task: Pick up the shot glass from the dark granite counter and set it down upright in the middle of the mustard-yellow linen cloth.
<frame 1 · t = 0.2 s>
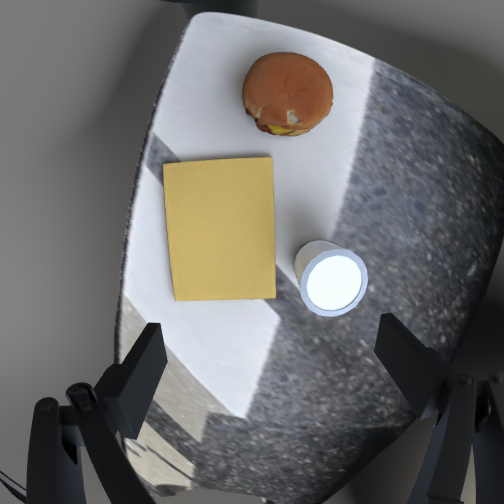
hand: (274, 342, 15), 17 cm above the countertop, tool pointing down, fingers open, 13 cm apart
shot glass: (317, 263, 32), on the countertop
burger: (286, 99, 28), on the countertop
cloth: (220, 231, 31), on the countertop
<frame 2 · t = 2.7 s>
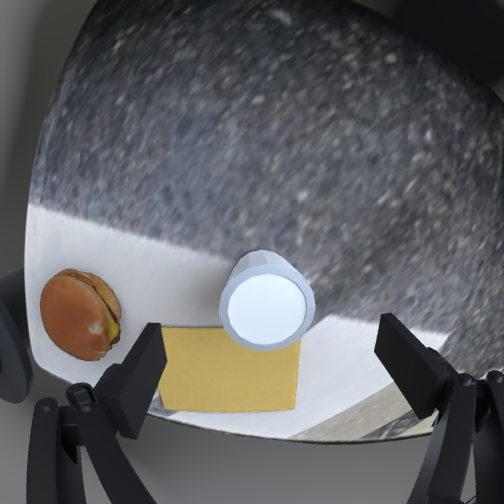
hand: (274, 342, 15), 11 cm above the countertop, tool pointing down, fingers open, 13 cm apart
shot glass: (261, 278, 26), on the countertop
burger: (88, 307, 27), on the countertop
cloth: (224, 374, 29), on the countertop
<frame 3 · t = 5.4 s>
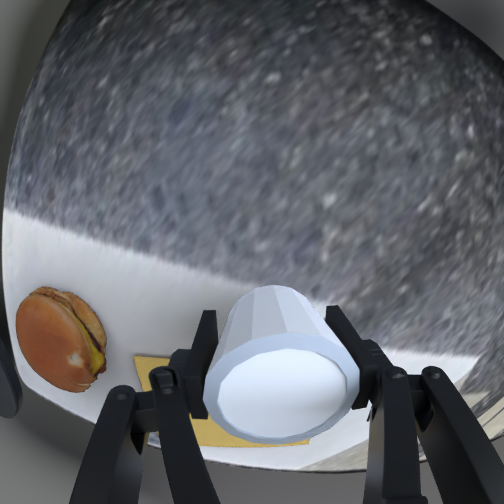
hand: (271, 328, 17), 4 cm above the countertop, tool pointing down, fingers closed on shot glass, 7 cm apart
shot glass: (271, 324, 18), point 3 cm above the countertop, touching gripper
burger: (70, 329, 22), on the countertop
cloth: (229, 409, 23), on the countertop
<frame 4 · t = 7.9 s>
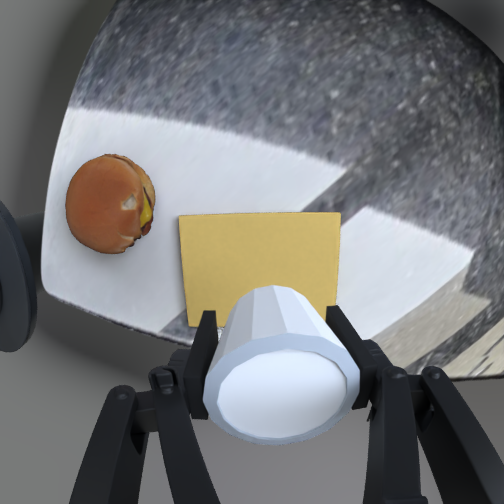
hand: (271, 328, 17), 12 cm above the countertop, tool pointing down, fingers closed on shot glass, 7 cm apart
shot glass: (271, 325, 18), point 11 cm above the countertop, touching gripper
burger: (117, 201, 27), on the countertop
cloth: (261, 272, 29), on the countertop
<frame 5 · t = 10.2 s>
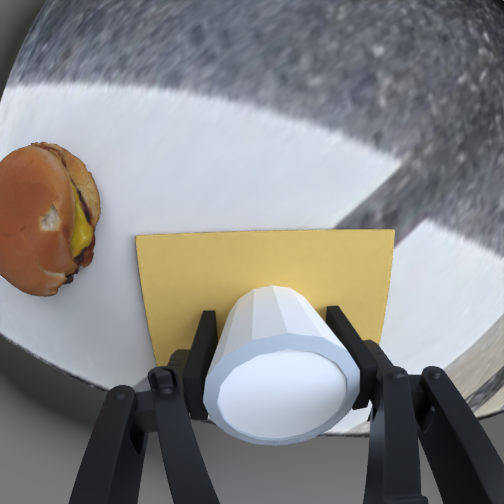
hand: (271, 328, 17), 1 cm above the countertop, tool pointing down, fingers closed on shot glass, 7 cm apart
shot glass: (271, 325, 18), resting on cloth, touching gripper
burger: (53, 213, 16), on the countertop
cloth: (269, 323, 18), on the countertop
when the fingers open (1 cm above the countertop, at t = 10.5 s): shot glass stays where it is, resting on cloth.
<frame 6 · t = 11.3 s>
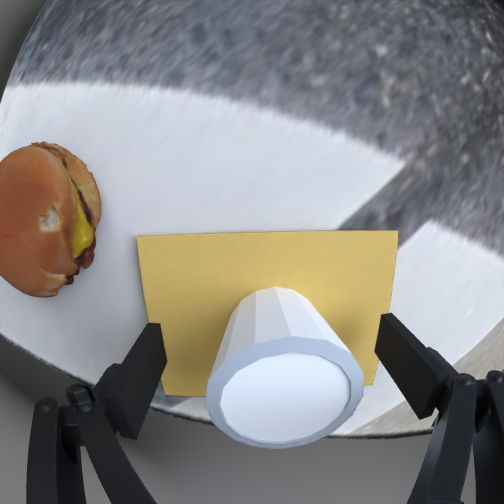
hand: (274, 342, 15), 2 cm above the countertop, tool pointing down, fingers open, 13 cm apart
shot glass: (273, 327, 17), resting on cloth
burger: (53, 213, 16), on the countertop
cloth: (272, 325, 18), on the countertop
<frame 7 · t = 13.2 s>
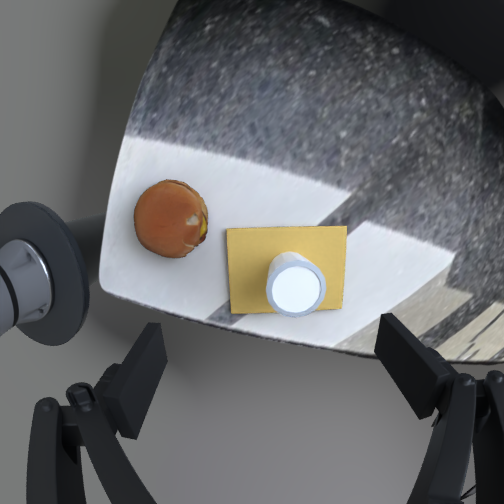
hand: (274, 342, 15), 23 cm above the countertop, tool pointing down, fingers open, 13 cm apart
shot glass: (288, 271, 38), resting on cloth
burger: (175, 216, 36), on the countertop
cloth: (288, 270, 38), on the countertop
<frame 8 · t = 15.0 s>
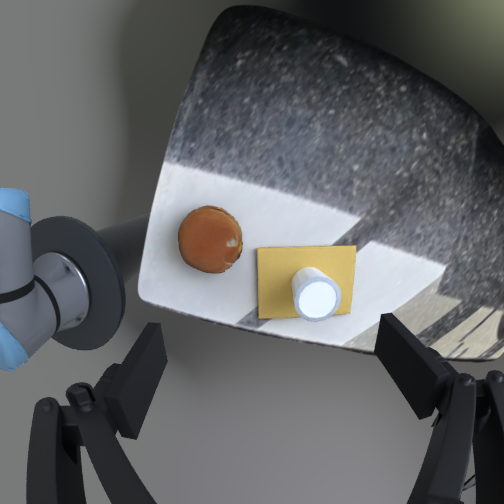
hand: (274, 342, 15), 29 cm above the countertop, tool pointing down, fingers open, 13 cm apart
shot glass: (308, 283, 45), resting on cloth
burger: (212, 236, 43), on the countertop
cloth: (307, 282, 45), on the countertop
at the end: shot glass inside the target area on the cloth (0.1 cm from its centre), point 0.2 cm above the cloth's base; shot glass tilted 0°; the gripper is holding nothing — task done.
